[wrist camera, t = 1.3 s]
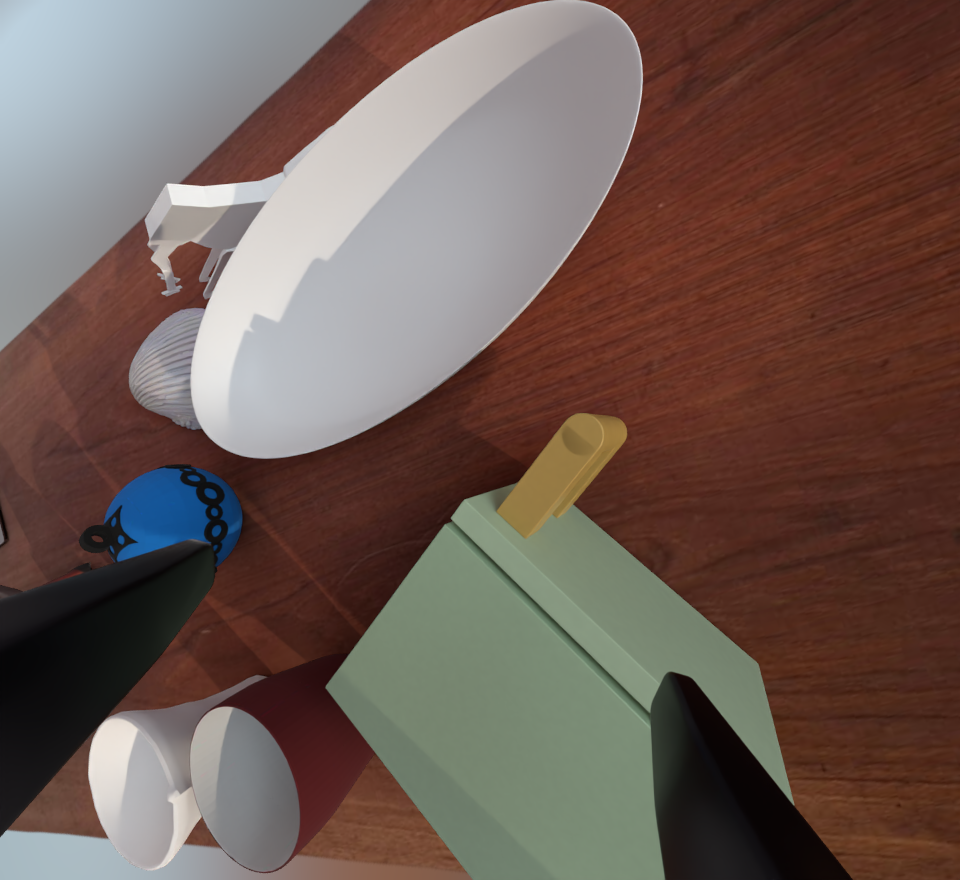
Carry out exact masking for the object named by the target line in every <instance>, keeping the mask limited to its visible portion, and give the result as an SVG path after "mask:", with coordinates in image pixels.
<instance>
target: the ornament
mask: <svg viewBox="0 0 960 880" xmlns="http://www.w3.org/2000/svg"><path fill="white" fill-rule="evenodd" d="M241 528H242V509H241V505H240V502H239V500H238V498H237V496H236V494H235V493H234V491H233V490H232V488H231V487H230V486H229V485H228V484H227V483H226V482H225V481H223V480H222V479H221V478H220V477H218V476H216V475H214V474H212V473H210V472H208V471H206V470H203V469H199V468H195V467H191V465H188V464H176V465H165V466H163V467H160V468H157V469H155V470H152V471H150V472H148V473H145V474H143V475H141V476H139V477H138V478H136V479H134V480H133V481H131V482H130V483H128V484H127V485H126V486H125V487H124V488H123V489H122V490H121V491H120V492H119V493H118V494H117V495H116V497H115V498H114V500H113V501H112V503H111V505H110V506H109V508H108V510H107V513H106V516H105V521H104V525H103V526H102V525H94V526H91V527H89V528H87V529H86V530H85V531H84V532H83V534H82V535H81V536H80V539H79V543H80V546H81V547H82V548H83V549H84V550H86V551H88V552H91V553H100V552H103V551H106V550H108V552H109V554H110V556H111V558H112V559H113V561H114V562H115V563H116V562H119V561H122V560H125V559H129V558H132V557H135V556H138V555H141V554H144V553H148V552H151V551H154V550H157V549H160V548H163V547H166V546H170V545H173V544H176V543H179V542H182V541H185V540H189V539H196V540H200V541H203V542H207V543H210V544H211V545H212V546H213V548H214V563H215V573H216V572H217V568H216V567H217V566H219V565H220V564H221V563H222V562H223V561H224V560H225V559H226V558H227V557H228V556H229V554H230V553H231V552H232V550H233V549H234V547H235V545H236V543H237V541H238V540H239V537H240V534H241ZM94 535H97V536H100V537H101V538H102V539H103V542H95V541H93V539H92V538H91V536H94Z"/></svg>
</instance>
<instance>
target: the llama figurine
mask: <svg viewBox="0 0 960 880" xmlns="http://www.w3.org/2000/svg"><path fill="white" fill-rule="evenodd" d="M332 127H333V126H331V127H330V128H328V129H327V130H325V131H324V132H323V133H322V134H321V135H320V136H319V137H318V138H317V139H315V140H314V141H313V142H311V143H310V144H309V145H308V146H306V147H305V148H304V149H303V150H302V151H301V152H300V153H298V154H297V155H296V156H295V157H294V158H293V159H292V160H291V161H289V162H288V163H287V164H286V165H285V166H284V170H283V172H282V173H279V174H277V175H274V176H271V177H269V178H266V179H264V180H261V181H254V182H244V183H234V184H224V185H213V186H192V185H181V184H168V183H167V184H166V185H165V187H164V189H163V190H162V192H161V194H160V195H159V197H158V199H157V200H156V202H155V204H154V205H153V207H152V208H151V210H150V212H149V213H148V215H147V217H146V218H145V223H146V227H147V231H148V235H149V239H150V240H149V242H148V244H147V245H148V247H150V248H151V249H152V250H153V251H154V254H153V256H152V257H151V260H152V261H153V262H154V263H155V264H156V265H158V266H159V267H160V269H161V270H162V272H163V274H160V273H158V274H157V276H161V279H163V280H165V281H166V285H167V290H166V291H164V292H161V293H162V294H163V295H166V296H169V295H172V294H174V293H177V292H179V291H180V290H179V289H181V288H182V286H181V285H180V286H177V287H176V285H175V283H177V282H178V281H180V278H176V277H174V275H173V272H172V268H171V263H170V260H169V259H168V256H169V255H170V254H171V253H172V252H173V251H174V250H175V249H176V248H177V247H178V245H183V244H185V243H187V242H189V241H192V242H195V243H197V244H200V245H202V246H205V247H208V248H212V250H211V253H210V255H209V257H208V259H207V261H206V263H205V266H204V268H203V270H202V272H201V274H200V277H199V282H207V281H209V282H208V284H207V286H206V289H205V291H204V293H203V297H204V298H205V299H207V298H210V297H211V295H212V293H213V291H212V289H213V288H214V286H215V284H216V282H217V280H218V278H219V276H220V275H221V273H222V271H223V269H224V268H225V266H226V264H227V262H228V261H229V259H230V257H231V255H232V254H233V252H234V250H235V248H236V247H237V245H238V243H239V242H240V240H241V239H242V237H243V235H244V234H245V232H246V231H247V229H248V228H249V226H250V225H251V223H252V222H253V220H254V219H255V217H256V216H257V214H258V213H259V212H260V210H261V209H262V207H263V206H264V205H265V203H266V202H267V201H268V199H269V198H270V197H271V195H272V194H273V193H274V192H275V190H276V189H277V188H278V186H279V185H280V184H281V183H282V181H283V180H284V179H285V178H286V177H287V175H288V174H289V173H290V172H291V171H292V169H293V168H294V167H295V166H296V165H297V164H298V163H299V161H300V160H301V159H302V158H303V157H304V156H305V155H306V154H307V152H308V151H309V150H310V149H311V148H312V147H313V146H314V145H315V144H316V143H317V142H318V141H319V140H320V139H321V138H322V137H323V136H324V135H325V134H326V133H327V132H328V131H329V130H330V129H331V128H332ZM218 257H219V259H218ZM217 259H218V261H217ZM216 261H217V264H216V267H215V270H214V272H213V274H212V276H211V278H210V277H208V275H209V274H210V272H211V270H212V268H213V266H214V265H215V263H216Z"/></svg>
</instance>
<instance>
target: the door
mask: <svg viewBox="0 0 960 880" xmlns="http://www.w3.org/2000/svg"><path fill="white" fill-rule="evenodd" d="M626 437H627V429H626V426H625V424H624V423H623V422H622V421H621V420H620V419H619V418H617V417H613V416H605V415H596V414H587V413H579V414H575V415H573V416H571V417H569V418H568V419H567V420H566V421H565V422H564V423H563V425H562V426H561V427H560V429H559V430H558V431H557V433H556V434H555V435H554V436H553V438H552V439H551V440H550V442H549V443H548V444H547V446H546V447H545V448H544V449H543V451H542V452H541V453H540V455H539V456H538V457H537V459H536V460H535V461H534V462H533V464H532V465H531V466H530V468H529V469H528V470H527V472H526V473H525V474H524V476H523V477H522V478H521V479H520V481H519V482H518V483H515V484H512V485H509V486H506V487H503V488H499V489H496V490H493V491H490V492H487V493H484V494H480V495H477V496H474V497H471V498H468V499H465V500H463V502H462V503H461V504H460V506H459V507H458V509H457V510H456V511H455V513H454V514H453V515H452V517H451V519H452V520H453V521H454V522H455V523H456V524H457V525H458V526H459V527H460V528H461V529H462V530H463V531H464V532H465V533H466V534H467V535H468V536H469V537H470V538H471V539H472V540H473V541H474V542H475V543H476V544H477V545H478V546H479V547H480V548H481V549H482V550H483V551H484V552H485V553H486V554H487V555H488V556H489V557H490V558H491V559H492V560H493V561H495V562H496V563H497V564H498V565H499V566H500V567H501V568H502V569H503V570H504V571H505V572H506V573H507V574H508V575H509V576H510V577H511V578H512V579H513V580H514V581H515V582H516V583H517V584H518V585H519V586H520V587H521V588H522V589H523V590H524V591H525V592H526V593H527V594H528V595H529V596H530V597H531V598H532V599H533V600H534V601H535V602H536V603H537V604H539V605H540V606H541V607H542V608H543V609H544V610H545V611H546V612H547V613H548V614H549V615H550V616H551V617H552V618H553V619H554V620H555V621H556V622H557V623H558V624H559V625H560V626H561V627H562V628H563V629H564V630H565V631H566V632H567V633H568V634H569V635H570V636H571V637H572V638H573V639H574V640H575V641H576V642H577V643H578V644H579V645H580V646H582V647H583V648H584V649H585V650H586V651H587V652H588V653H589V654H590V655H591V656H592V657H593V658H594V659H595V660H596V661H597V662H598V663H599V664H600V665H601V666H602V667H603V668H604V669H605V670H606V671H607V672H608V673H609V674H610V675H611V676H612V677H613V678H614V679H615V680H616V681H617V682H618V683H619V684H620V685H621V686H622V687H623V688H624V689H626V690H627V691H628V692H629V693H630V694H631V695H632V696H633V697H634V698H635V699H636V700H637V701H638V702H639V703H640V704H641V705H642V706H643V707H644V708H645V709H646V710H647V711H648V712H649V713H650V709H651V704H652V700H653V698H654V696H655V694H656V692H657V690H658V688H659V686H660V684H661V681H662V679H663V677H664V676H665V674H666V673H667V672H670V671H672V672H676V673H679V674H683V675H687V676H689V677H691V678H692V679H693V680H694V681H695V682H696V683H697V684H698V686H699V687H700V688H701V689H702V691H703V692H704V693H705V694H706V696H707V697H708V698H709V699H710V701H711V702H712V703H713V704H714V706H715V707H716V708H717V710H718V711H719V712H720V713H721V715H722V716H723V717H724V718H725V720H726V721H727V722H728V723H729V725H730V726H731V727H732V728H733V730H734V731H735V732H736V733H737V735H738V736H739V737H740V738H741V740H742V741H743V742H744V743H745V745H746V746H747V747H748V748H749V750H750V751H751V752H752V754H753V755H754V756H755V757H756V759H757V760H758V761H759V762H760V764H761V765H762V766H763V767H764V769H765V770H766V771H767V772H768V774H769V775H770V776H771V777H772V779H773V780H774V781H775V782H776V784H777V785H778V786H779V787H780V789H781V790H782V791H783V792H784V794H785V795H786V796H787V797H788V799H789V800H790V801H791V803H792V804H793V805H794V802H793V798H792V795H791V791H790V787H789V783H788V779H787V775H786V771H785V767H784V763H783V759H782V755H781V751H780V747H779V743H778V740H777V736H776V732H775V728H774V724H773V720H772V716H771V712H770V708H769V704H768V700H767V696H766V692H765V688H764V685H763V681H762V677H761V673H760V669H759V665H758V663H757V662H756V661H754V660H753V659H752V658H751V657H750V656H749V655H747V654H746V653H745V652H744V651H743V650H742V649H740V648H739V647H738V646H737V645H736V644H735V643H733V642H732V641H731V640H730V639H729V638H728V637H726V636H725V635H724V634H723V633H722V632H721V631H720V630H718V629H717V628H716V627H715V626H714V625H713V624H711V623H710V622H709V621H708V620H707V619H706V618H704V617H703V616H702V615H701V614H700V613H699V612H697V611H696V610H695V609H694V608H693V607H692V606H690V605H689V604H688V603H687V602H686V601H685V600H683V599H682V598H681V597H680V596H679V595H678V594H676V593H675V592H674V591H673V590H672V589H671V588H670V587H668V586H667V585H666V584H665V583H664V582H663V581H661V580H660V579H659V578H658V577H657V576H656V575H654V574H653V573H652V572H651V571H650V570H649V569H647V568H646V567H645V566H644V565H643V564H642V563H640V562H639V561H638V560H637V559H636V558H635V557H633V556H632V555H631V554H630V553H629V552H628V551H626V550H625V549H624V548H623V547H622V546H621V545H620V544H618V543H617V542H616V541H615V540H614V539H613V538H611V537H610V536H609V535H608V534H607V533H606V532H604V531H603V530H602V529H601V528H600V527H599V526H597V525H596V524H595V523H594V522H593V521H592V520H590V519H589V518H588V517H587V516H586V515H585V514H583V513H582V512H581V511H580V510H579V509H578V508H576V507H575V506H574V505H573V503H574V502H575V501H576V500H577V499H578V497H579V496H580V495H581V494H582V493H583V491H584V490H585V489H586V488H587V487H588V485H589V484H590V483H591V482H592V480H593V479H594V478H595V477H596V476H597V474H598V473H599V472H600V471H601V470H602V468H603V467H604V466H605V465H606V464H607V462H608V461H609V460H610V459H611V458H612V456H613V455H614V454H615V453H616V451H617V450H618V449H619V448H620V447H621V445H622V444H623V443H624V442H625V440H626Z"/></svg>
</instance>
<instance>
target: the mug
mask: <svg viewBox="0 0 960 880" xmlns="http://www.w3.org/2000/svg"><path fill="white" fill-rule="evenodd" d="M348 655H349V654H333V655H328V656H325V657H322V658H319V659H316V660H313V661H310V662H308V663H305V664H302V665H299V666H296V667H294V668H291V669H288V670H285V671H283V672H280V673H277V674H274V675H272V676H269V677H267V678H264V679H262V680H259V681H257V682H255V683H253V684H251V685H249V686H247V687H246V688H244V689H242V690H240V691H239V692H237V693H235V694H234V695H232V696H230V697H229V698H227V699H225V700H224V701H222V702H221V703H219V704H217V705H216V706H214V707H213V708H211V709H210V710H208V711H207V712H206V713H205V714H204V715H203V716H202V717H201V719H200V720H199V722H198V723H197V725H196V727H195V730H194V733H193V736H192V740H191V745H190V754H189V767H190V777H191V783H192V788H193V792H194V796H195V800H196V803H197V806H198V808H199V811H200V813H201V816H202V818H203V820H204V822H205V824H206V826H207V828H208V830H209V831H210V833H211V835H212V836H213V838H214V839H215V841H216V842H217V843H218V845H219V846H220V847H221V848H222V849H223V851H224V852H225V853H226V854H227V855H228V856H229V857H230V858H232V859H233V860H234V861H235V862H237V863H238V864H240V865H241V866H243V867H244V868H246V869H249V870H251V871H254V872H259V873H271V872H274V871H277V870H279V869H281V868H282V867H284V866H285V865H286V864H287V863H289V862H290V861H291V860H292V858H294V857H295V856H296V855H297V854H298V853H299V852H300V851H301V850H302V849H303V848H304V847H305V846H306V844H307V843H308V842H309V841H310V840H311V839H312V838H313V837H314V836H315V835H316V834H317V833H318V832H319V831H320V830H321V829H322V827H323V826H324V825H325V824H326V823H327V822H328V820H329V819H330V818H331V817H332V815H333V814H334V813H335V811H336V810H337V808H338V807H339V805H340V804H341V803H342V801H343V800H344V798H345V797H346V795H347V794H348V792H349V791H350V789H351V788H352V786H353V785H354V783H355V782H356V780H357V779H358V777H359V776H360V774H361V773H362V771H363V770H364V768H365V767H366V765H367V764H368V762H369V761H370V759H371V758H372V756H373V755H374V753H375V752H374V750H373V749H372V748H371V746H370V745H369V744H368V743H367V741H366V740H365V739H364V737H363V736H362V735H361V733H360V732H359V731H358V729H357V728H356V727H355V726H354V724H353V723H352V722H351V720H350V719H349V718H348V716H347V715H346V714H345V713H344V711H343V710H342V709H341V707H340V706H339V705H338V703H337V702H336V701H335V700H334V698H333V697H332V696H331V694H330V693H329V692H328V690H327V689H326V685H327V684H328V683H329V681H330V680H331V679H332V677H333V676H334V674H335V673H336V672H337V670H338V669H339V668H340V666H341V665H342V664H343V662H344V661H345V659H346V658H347V657H348Z"/></svg>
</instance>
